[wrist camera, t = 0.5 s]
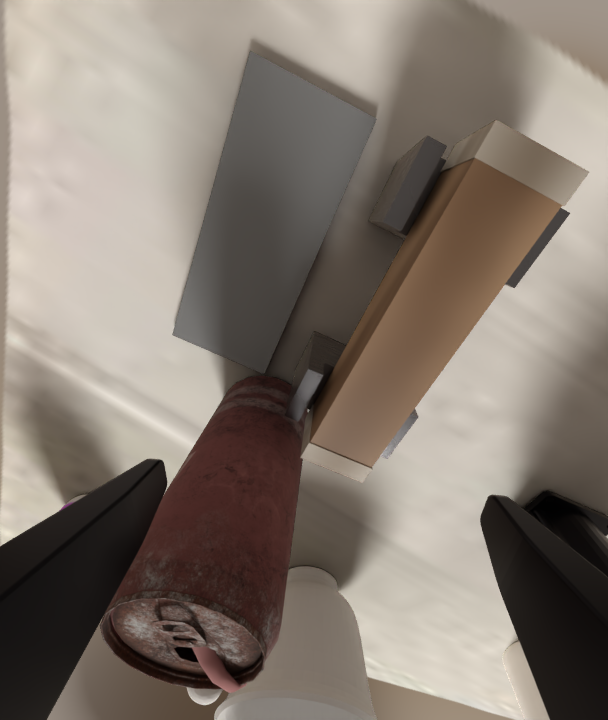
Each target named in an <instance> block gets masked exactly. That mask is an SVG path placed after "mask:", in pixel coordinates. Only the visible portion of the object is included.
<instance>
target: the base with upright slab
mask: <svg viewBox="0 0 608 720" xmlns="http://www.w3.org/2000/svg"><path fill="white" fill-rule="evenodd" d="M502 662H503V665H504V667H505V670H506V673H507V675H508V678H509V681H510V683H511V686H512V688H513V691H514V694H515V696H516V699H517V701H518V704H519V707H520V709H521V712H522V714H523V717H524V720H550V719H549V716H548V714H547V711H546V709H545V706H544V703H543V701H542V698H541V696H540V693H539V691H538V688H537V685H536V683H535V680H534V678H533V675H532V673H531V670H530V667H529V665H528V662H527V660H526V657H525V654H524V652H523V649H522V647H521V644H520V642H519V641H517V642H515V643H513V644H512V645H510V646H509V647H508V648H507V649H506V650H505V652H504V654H503V655H502Z"/></svg>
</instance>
